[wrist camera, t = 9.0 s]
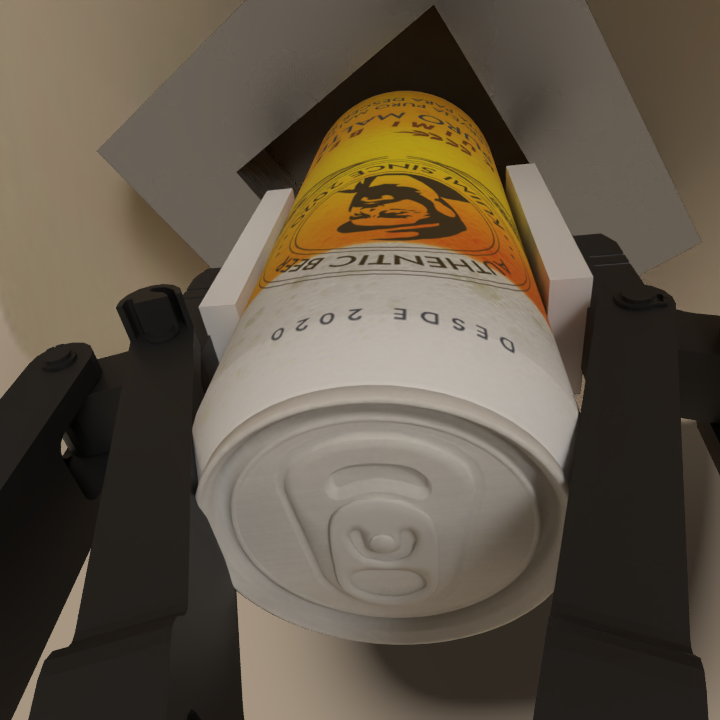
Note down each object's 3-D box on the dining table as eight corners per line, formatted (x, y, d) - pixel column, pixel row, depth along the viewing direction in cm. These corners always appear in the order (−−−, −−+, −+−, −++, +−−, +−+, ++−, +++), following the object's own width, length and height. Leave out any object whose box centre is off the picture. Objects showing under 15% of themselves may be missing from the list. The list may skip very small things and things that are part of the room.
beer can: (495, 76, 18) (654, 360, 6) (489, 255, 22) (582, 663, 9) (303, 93, 19) (98, 379, 7) (328, 264, 22) (223, 653, 10)
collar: (138, 123, 22) (96, 151, 19) (463, -201, 16) (474, -230, 13) (367, 372, 28) (362, 422, 25) (664, 202, 22) (702, 242, 19)
